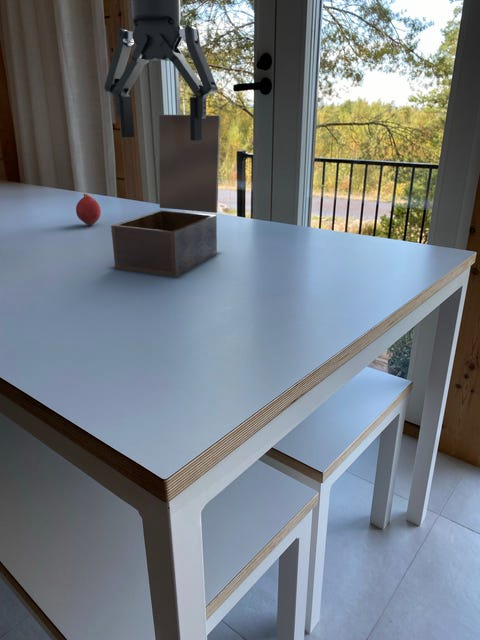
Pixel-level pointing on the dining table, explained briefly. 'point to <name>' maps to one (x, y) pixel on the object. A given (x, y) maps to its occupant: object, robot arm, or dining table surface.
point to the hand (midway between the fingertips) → (161, 138)
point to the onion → (88, 210)
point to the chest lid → (188, 164)
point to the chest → (164, 242)
